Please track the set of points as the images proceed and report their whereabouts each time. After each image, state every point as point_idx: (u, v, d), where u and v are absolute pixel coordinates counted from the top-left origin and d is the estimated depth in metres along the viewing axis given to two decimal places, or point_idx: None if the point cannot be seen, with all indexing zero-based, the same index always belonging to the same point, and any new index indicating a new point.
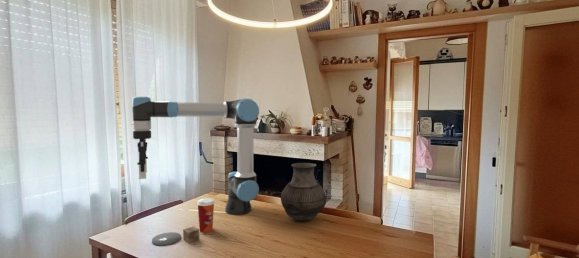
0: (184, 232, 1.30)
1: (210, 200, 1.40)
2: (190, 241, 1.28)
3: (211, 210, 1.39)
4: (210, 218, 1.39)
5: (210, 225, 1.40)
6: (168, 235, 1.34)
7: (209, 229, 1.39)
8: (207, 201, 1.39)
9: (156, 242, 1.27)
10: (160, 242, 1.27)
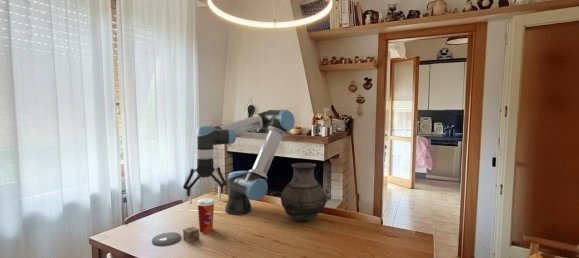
0: (184, 232, 1.30)
1: (210, 200, 1.40)
2: (190, 241, 1.28)
3: (211, 210, 1.39)
4: (210, 218, 1.39)
5: (210, 225, 1.40)
6: (168, 235, 1.34)
7: (209, 229, 1.39)
8: (207, 201, 1.39)
9: (156, 242, 1.27)
10: (160, 242, 1.27)
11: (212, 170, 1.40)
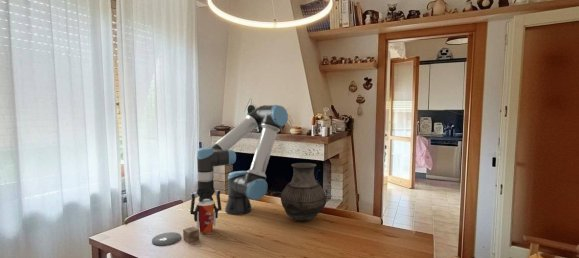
0: (184, 232, 1.30)
1: (210, 200, 1.40)
2: (190, 241, 1.28)
3: (211, 210, 1.39)
4: (210, 218, 1.39)
5: (210, 225, 1.40)
6: (168, 235, 1.34)
7: (209, 229, 1.39)
8: (207, 201, 1.39)
9: (156, 242, 1.27)
10: (160, 242, 1.27)
11: (212, 192, 1.41)
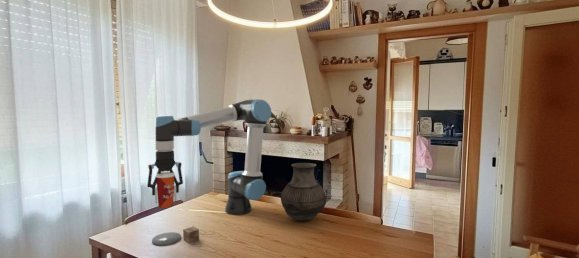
0: (184, 232, 1.30)
1: None
2: (190, 241, 1.28)
3: (170, 183, 1.28)
4: (169, 191, 1.28)
5: (169, 199, 1.28)
6: (168, 235, 1.34)
7: (168, 204, 1.28)
8: (166, 173, 1.27)
9: (156, 242, 1.27)
10: (160, 242, 1.27)
11: (172, 163, 1.29)
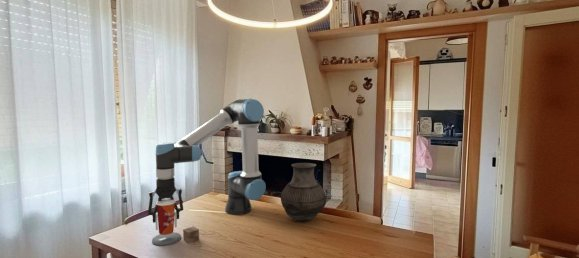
0: (184, 232, 1.30)
1: (170, 199, 1.30)
2: (190, 241, 1.28)
3: (171, 210, 1.29)
4: (170, 218, 1.28)
5: (170, 226, 1.29)
6: (168, 235, 1.34)
7: (169, 231, 1.29)
8: (167, 200, 1.28)
9: (156, 242, 1.27)
10: (160, 242, 1.27)
11: (173, 190, 1.30)
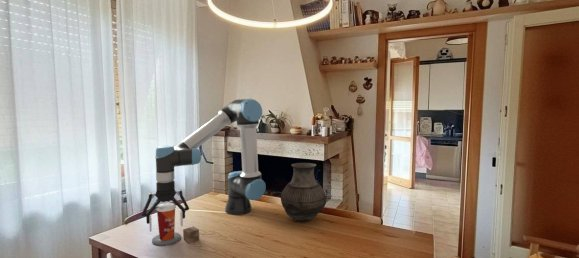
0: (184, 232, 1.30)
1: (170, 205, 1.30)
2: (190, 241, 1.28)
3: (171, 216, 1.29)
4: (170, 224, 1.29)
5: (170, 232, 1.29)
6: None
7: (169, 236, 1.29)
8: (167, 206, 1.28)
9: (156, 242, 1.27)
10: (160, 242, 1.27)
11: (173, 194, 1.30)
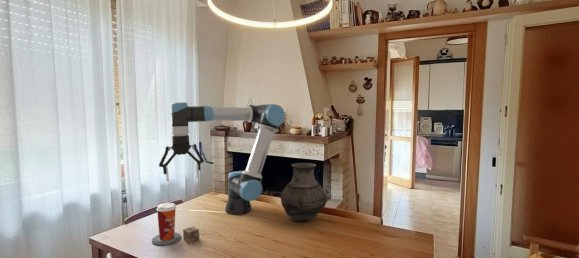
0: (184, 232, 1.30)
1: (171, 205, 1.30)
2: (190, 241, 1.28)
3: (172, 216, 1.29)
4: (171, 224, 1.29)
5: (171, 232, 1.29)
6: None
7: (169, 237, 1.29)
8: (167, 206, 1.28)
9: (156, 242, 1.27)
10: (160, 242, 1.27)
11: (188, 147, 1.39)
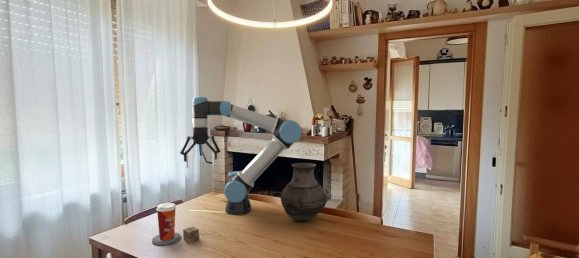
0: (184, 232, 1.30)
1: (171, 205, 1.30)
2: (190, 241, 1.28)
3: (172, 216, 1.29)
4: (171, 224, 1.29)
5: (171, 232, 1.29)
6: None
7: (169, 236, 1.29)
8: (167, 206, 1.29)
9: (156, 242, 1.27)
10: (160, 242, 1.27)
11: (207, 138, 1.53)
